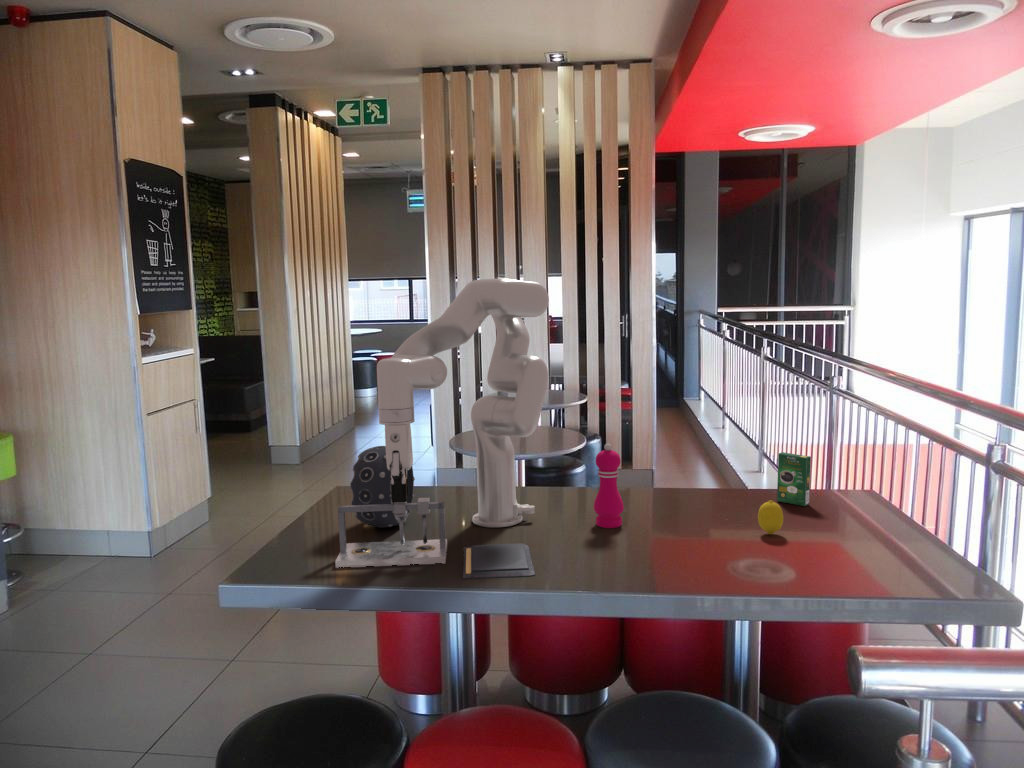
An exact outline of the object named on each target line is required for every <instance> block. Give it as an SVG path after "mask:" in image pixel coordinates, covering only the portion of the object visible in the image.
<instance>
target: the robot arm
mask: <svg viewBox="0 0 1024 768" xmlns="http://www.w3.org/2000/svg"><path fill="white" fill-rule="evenodd" d="M548 293H549V292H548V291H547V289H546V288H545V287H544V285H542V284H541V283H539V282H537V281H530V280H529V281H528V280H520V279H519V280H518V279H512V278H483V279H482V278H481V279H475V280H472V281H469V282H467V284H466V285H465V286H464V287H463V289H462V290H461V291H460V292H459V293H458V294H457V296H456V297H455V298H454V300H453V301H452V302H451V303H450V304H449V306H448V307H447V308H446V309H445V310H444V312H443V313H442V314H441V315H440V316H439V317H438V318H436V319H434V320H433V321H431V322H430V323H428V324H426V325H425V326H423V327H422V328H420V329H418V331H415V332H414V333H412V334H411V335H410V336H409V337H408V338H407V339H405V340H404V341H403V342H402V343H401V345H399V347H398V348H397V349H396V350H395V352H394V353H393V355H392V356H391V357H390V358H389V357H388V358H382V359H379V361H378V362H377V364H376V380H377V381H376V382H377V399H378V401H377V405H378V419H379V420H378V423H379V424H380V425H384V442H385V444H384V446H386V461H387V469H388V470H390V471H391V483H392V484H391V497H392V502H393V503H396V502H406V501H407V497H408V495H409V491H408V479H406V483H405V476H406V478H407V470H409V469H410V468H411V466H412V467H413V465H412V464H414V454H413V453H414V452H413V441H412V427H411V424H413V423H414V422H415V406H414V405H415V402H414V399H415V398H414V390H434V389H437V388H439V387H440V386H442V385H443V384H444V383H445V381H446V378H447V376H448V369H447V365H446V363H445V362H444V361H443V360H442V359H441V358H439V357H437V356H435V355H437V354H439V353H442V352H445V351H448V350H451V349H454V348H457V347H460V346H462V345H464V344H467V342H469V340H470V339H471V338H472V337H473V335H474V334H475V332H476V331H477V330H478V329H479V328H480V326H481V324H482V323H483V322H484V321H485V319H486V318H488V316H491V318H492V319H493V322H494V325H495V328H496V330H495V331H496V338H495V342H494V347H493V351H492V355H491V359H490V363H489V367H488V371H487V376H486V378H487V381H486V382H487V385H488V386H489V388H490V389H492V390H493V391H496V392H500V393H506V394H508V393H509V394H515V396H505V395H504V396H503V395H485V396H482V397H480V398H477V400H476V401H475V402H474V403H473V404H472V407H471V410H470V411H471V412H470V419H471V420H470V421H471V425H472V426H471V427H472V430H473V434H474V439H475V447H476V448H475V450H476V481H477V483H476V484H477V486H476V487H477V510H478V512H477V513H475V514H474V515H472V517H471V518H472V519H471V520H472V523H473V524H474V525H476V526H479V527H484V528H505V527H512V526H516V525H517V524H520V523H521V522H523V520H524V519H523V514H535V505H529V504H528V503H527V504H520V503H518V500H517V495H516V488H517V487H516V463H515V462H516V461H515V459H516V455H515V448H514V444H513V442H512V439H511V437H512V438H513V437H516V438H526V437H529V436H531V435H533V433H534V432H535V430H536V429H537V426H538V424H539V421H540V417H541V413H542V410H543V404H544V402H545V398H546V394H547V393H546V392H547V389H548V385H549V371H548V367H547V364H546V362H545V361H544V360H543V359H542V358H541V357H539V356H535V355H528V354H529V353H528V351H529V348H530V347H529V346H530V340H531V339H530V334H529V331H528V329H527V327H526V325H525V323H524V321H523V318H538V317H540V316H542V315H543V314H544V313H545V312H546V311H547V309H548V306H549V302H550V301H549V300H550V299H549V297H550V296H549V294H548ZM406 484H407V490H406Z"/></svg>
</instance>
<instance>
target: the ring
mask: <svg viewBox="0 0 1024 768" xmlns="http://www.w3.org/2000/svg"><path fill="white" fill-rule="evenodd" d="M413 464H414V463H413ZM413 464H412V466H411V468H410V469H409V470H407V478H406V479H408V491H409V495H408V497H407V503H413V501H414V500H413V499H414V497H415V494H414V489H415V479H416V478H415V476H414V468H413ZM352 472H353V476H352V479H351V481H350V484H349V488H350V490H351V493H352V497H351V500H350V504H351V505H376V504H394V503H393V502H392V497H391V484H392V483H391V471H390V470H388V469H387V461H386V446H385V445H379V446H378V445H377V446H373V447H372V446H371V447H370V448H367V449H365V450H363V451H362V452H360V453H359V454H358V455H357V461H356V462H355V463H354V465H353V466H352ZM351 505H350V506H351ZM411 512H412V510H407V515H406V516H404V517H403V523H405V522H406V521H407V518H408V516H409V514H410V513H411ZM354 516H355V518H356V519H357V520H358V521H359V522H361V523H363V524H364V525H366V526H368V527H369V526H370V527H374V528H384V529H385V528H391V527H396V526H399V517H395V512H394V511H372V512H354Z"/></svg>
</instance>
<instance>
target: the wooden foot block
mask: <svg viewBox="0 0 1024 768" xmlns="http://www.w3.org/2000/svg"><path fill="white" fill-rule="evenodd" d="M405 483H406V476H405ZM406 490H407V484H406ZM406 503H407V501H406V502H396V503H394V512H395V517H399V525H398V526H399V541H400V544H401V545H403V544H404V541H405V529H404V528H405V527H404V523H405V522H403V517H404V516H406V515H407V510H406Z"/></svg>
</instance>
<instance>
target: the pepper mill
mask: <svg viewBox="0 0 1024 768" xmlns="http://www.w3.org/2000/svg"><path fill="white" fill-rule="evenodd" d="M603 448H604V449H603V450H601V451H599V452H597V455H596V457H595V465H596V466H597V468H598V470H597V476H598V477H599V490H598V493H597V494H596V497H595V499H594V502H593V510H594V512H595V514H596V515H597V516H596V517H595V524H596V526H598V527H599V528H604V529H615V528H619V527H621V526H622V524H623V518H622V516H620V515H622V513H623V512H624V509H625V507H624V502H623V499H622V496H621V494H620V492H619V490H618V482H617V479H618V477H619V470H618V468H619V467H620V466H621V463H622V461H621V456H620V454H619V453H618V452H617V451H615V450H614V449H613V450H612V448H613V447H612V445H611V444H610V443H605V444H604V447H603Z"/></svg>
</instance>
